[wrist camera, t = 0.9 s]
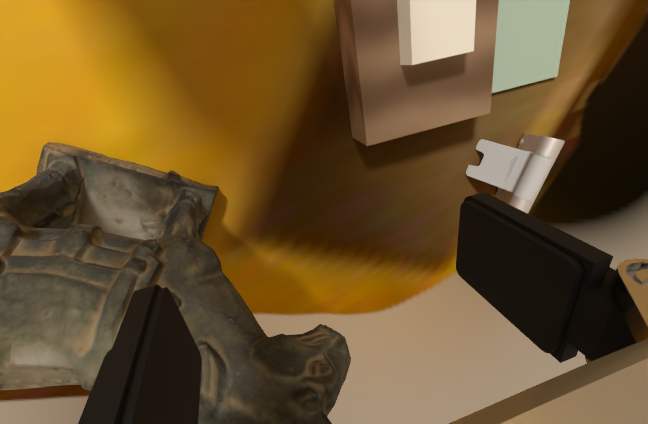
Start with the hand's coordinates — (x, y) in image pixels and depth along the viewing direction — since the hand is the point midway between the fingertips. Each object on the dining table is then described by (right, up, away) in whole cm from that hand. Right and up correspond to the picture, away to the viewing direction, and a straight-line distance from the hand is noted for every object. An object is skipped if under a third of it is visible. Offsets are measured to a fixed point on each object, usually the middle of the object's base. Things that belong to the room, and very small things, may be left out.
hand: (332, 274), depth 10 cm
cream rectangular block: (+9, +20, +16) cm, 27 cm away
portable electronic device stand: (+22, +9, +31) cm, 39 cm away
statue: (-16, +2, +22) cm, 27 cm away
